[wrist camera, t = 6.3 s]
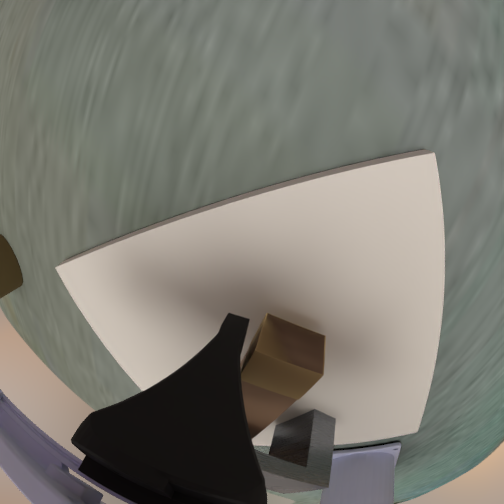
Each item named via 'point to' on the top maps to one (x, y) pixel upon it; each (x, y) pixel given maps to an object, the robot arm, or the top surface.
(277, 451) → the keeper
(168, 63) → the top surface
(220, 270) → the board
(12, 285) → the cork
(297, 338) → the link
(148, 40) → the top surface
